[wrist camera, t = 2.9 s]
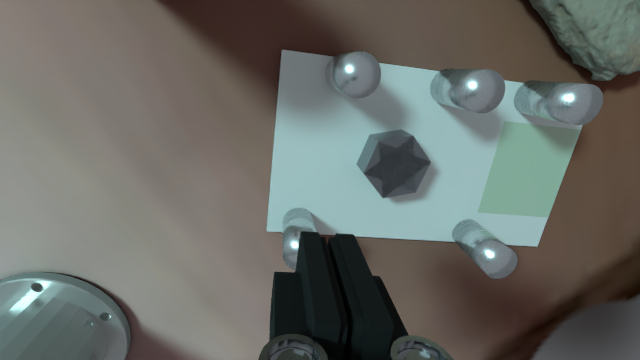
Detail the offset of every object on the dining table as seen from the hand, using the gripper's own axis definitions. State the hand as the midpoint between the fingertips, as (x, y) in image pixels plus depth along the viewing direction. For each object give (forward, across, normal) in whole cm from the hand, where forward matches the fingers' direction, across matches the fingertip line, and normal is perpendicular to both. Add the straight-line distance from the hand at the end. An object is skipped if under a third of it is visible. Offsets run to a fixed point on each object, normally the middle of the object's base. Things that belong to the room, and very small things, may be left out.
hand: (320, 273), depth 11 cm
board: (+17, -11, 0) cm, 20 cm away
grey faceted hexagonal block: (+16, -7, 0) cm, 18 cm away
